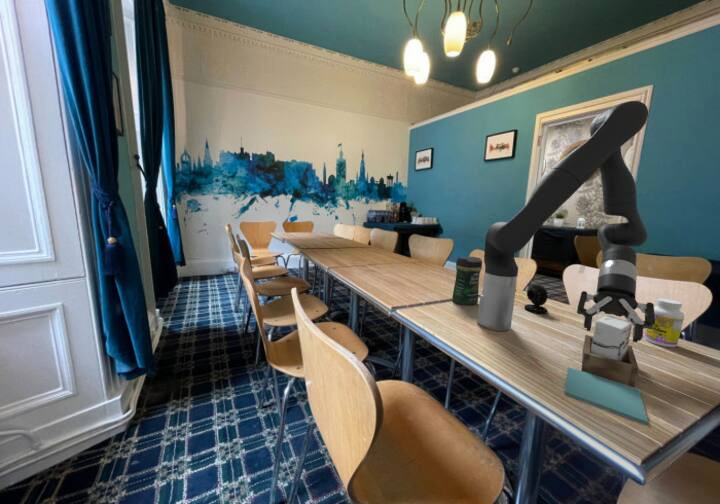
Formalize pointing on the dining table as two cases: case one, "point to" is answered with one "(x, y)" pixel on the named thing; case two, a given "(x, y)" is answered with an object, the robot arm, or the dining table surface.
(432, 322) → the dining table surface
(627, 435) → the dining table surface
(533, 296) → the webcam
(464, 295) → the coffee jar
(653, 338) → the supplement bottle
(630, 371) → the walnut case
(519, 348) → the dining table surface
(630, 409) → the teal mat
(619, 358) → the ink box
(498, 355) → the dining table surface
